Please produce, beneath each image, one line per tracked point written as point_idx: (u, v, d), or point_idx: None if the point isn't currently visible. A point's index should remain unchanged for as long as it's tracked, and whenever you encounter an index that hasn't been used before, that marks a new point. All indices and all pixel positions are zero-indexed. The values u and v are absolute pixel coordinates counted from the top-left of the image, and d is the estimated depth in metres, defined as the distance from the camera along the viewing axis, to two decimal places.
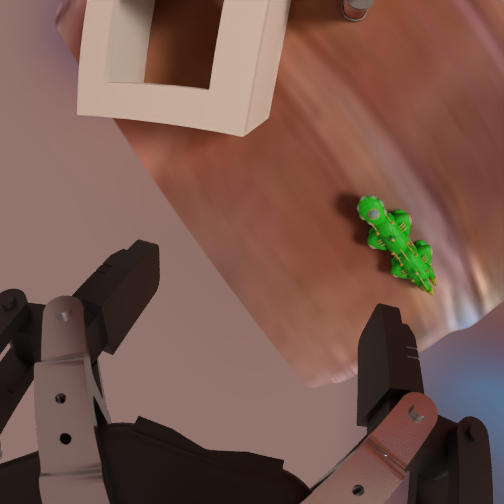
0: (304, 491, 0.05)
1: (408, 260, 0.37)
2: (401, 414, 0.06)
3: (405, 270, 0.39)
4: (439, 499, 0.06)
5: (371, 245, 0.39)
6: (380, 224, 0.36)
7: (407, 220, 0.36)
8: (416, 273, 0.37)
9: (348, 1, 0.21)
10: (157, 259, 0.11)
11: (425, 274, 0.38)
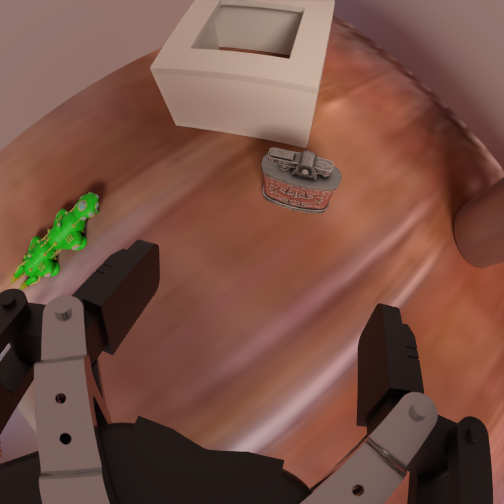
0: (304, 491, 0.05)
1: (40, 247, 0.35)
2: (401, 414, 0.06)
3: (33, 247, 0.36)
4: (439, 499, 0.06)
5: (58, 212, 0.37)
6: (73, 214, 0.36)
7: (74, 243, 0.36)
8: (29, 254, 0.34)
9: (268, 154, 0.31)
10: (157, 259, 0.11)
11: (27, 267, 0.35)
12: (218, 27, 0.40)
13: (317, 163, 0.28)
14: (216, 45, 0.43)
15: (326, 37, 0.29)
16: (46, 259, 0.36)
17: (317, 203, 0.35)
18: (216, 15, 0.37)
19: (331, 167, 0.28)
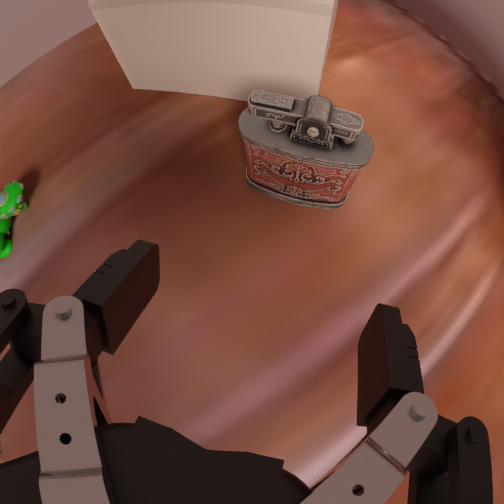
0: (304, 491, 0.05)
1: None
2: (401, 414, 0.06)
3: None
4: (439, 499, 0.06)
5: None
6: None
7: None
8: None
9: None
10: (157, 259, 0.11)
11: None
12: None
13: (335, 117, 0.15)
14: None
15: None
16: None
17: (331, 192, 0.21)
18: None
19: (360, 124, 0.15)
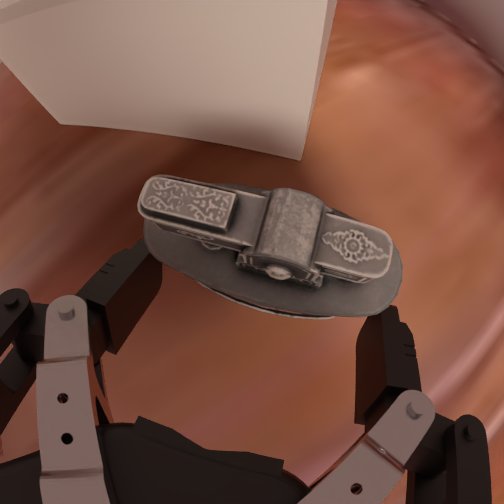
0: (302, 490, 0.05)
1: None
2: (398, 412, 0.06)
3: None
4: (437, 497, 0.06)
5: None
6: None
7: None
8: None
9: None
10: None
11: None
12: None
13: (330, 243, 0.07)
14: None
15: None
16: None
17: None
18: None
19: (386, 258, 0.07)
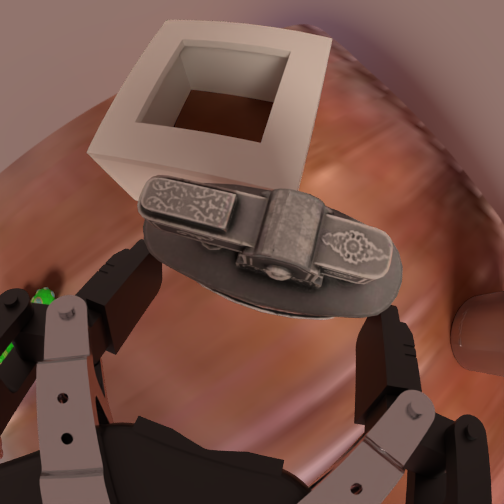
0: (302, 490, 0.05)
1: None
2: (398, 412, 0.06)
3: None
4: (437, 497, 0.06)
5: None
6: None
7: None
8: None
9: None
10: None
11: None
12: (187, 68, 0.35)
13: (330, 243, 0.07)
14: (186, 90, 0.37)
15: (315, 102, 0.24)
16: (9, 347, 0.30)
17: None
18: (183, 54, 0.32)
19: (386, 259, 0.07)
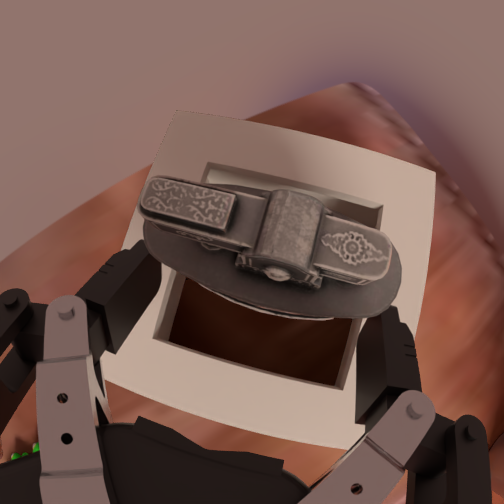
0: (302, 490, 0.05)
1: None
2: (399, 412, 0.06)
3: None
4: (438, 497, 0.06)
5: (35, 446, 0.25)
6: None
7: None
8: None
9: None
10: None
11: None
12: (208, 172, 0.27)
13: (329, 244, 0.07)
14: None
15: (416, 313, 0.17)
16: None
17: None
18: None
19: (385, 260, 0.07)
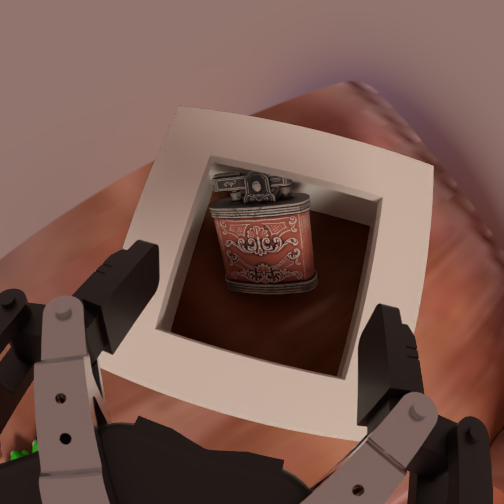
0: (304, 491, 0.05)
1: None
2: (401, 414, 0.06)
3: None
4: (439, 499, 0.06)
5: (34, 443, 0.25)
6: None
7: None
8: None
9: (219, 200, 0.27)
10: (157, 259, 0.11)
11: None
12: (210, 168, 0.28)
13: None
14: (208, 193, 0.30)
15: (417, 303, 0.17)
16: None
17: (294, 262, 0.25)
18: None
19: None
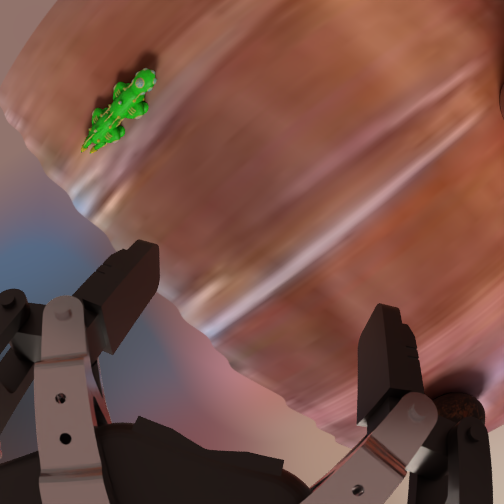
0: (304, 491, 0.05)
1: (105, 121, 0.39)
2: (401, 414, 0.06)
3: (97, 120, 0.40)
4: (439, 499, 0.06)
5: (115, 86, 0.37)
6: (132, 90, 0.36)
7: (137, 114, 0.39)
8: (95, 130, 0.40)
9: None
10: (157, 259, 0.11)
11: (95, 139, 0.41)
12: None
13: None
14: None
15: None
16: (112, 129, 0.41)
17: None
18: None
19: None
